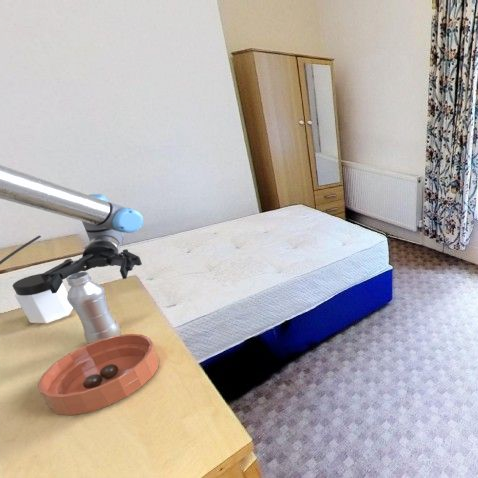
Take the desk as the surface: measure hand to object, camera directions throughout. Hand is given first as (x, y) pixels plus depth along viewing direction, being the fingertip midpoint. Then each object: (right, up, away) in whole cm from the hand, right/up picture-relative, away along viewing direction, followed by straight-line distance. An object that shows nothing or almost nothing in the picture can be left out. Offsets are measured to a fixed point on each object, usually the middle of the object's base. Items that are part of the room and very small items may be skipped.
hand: (89, 281), depth 85 cm
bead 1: (+15, -20, -15) cm, 29 cm away
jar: (-20, -11, +9) cm, 24 cm away
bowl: (+17, -21, -12) cm, 30 cm away
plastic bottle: (+5, -16, 0) cm, 17 cm away
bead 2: (+17, -18, -13) cm, 28 cm away
